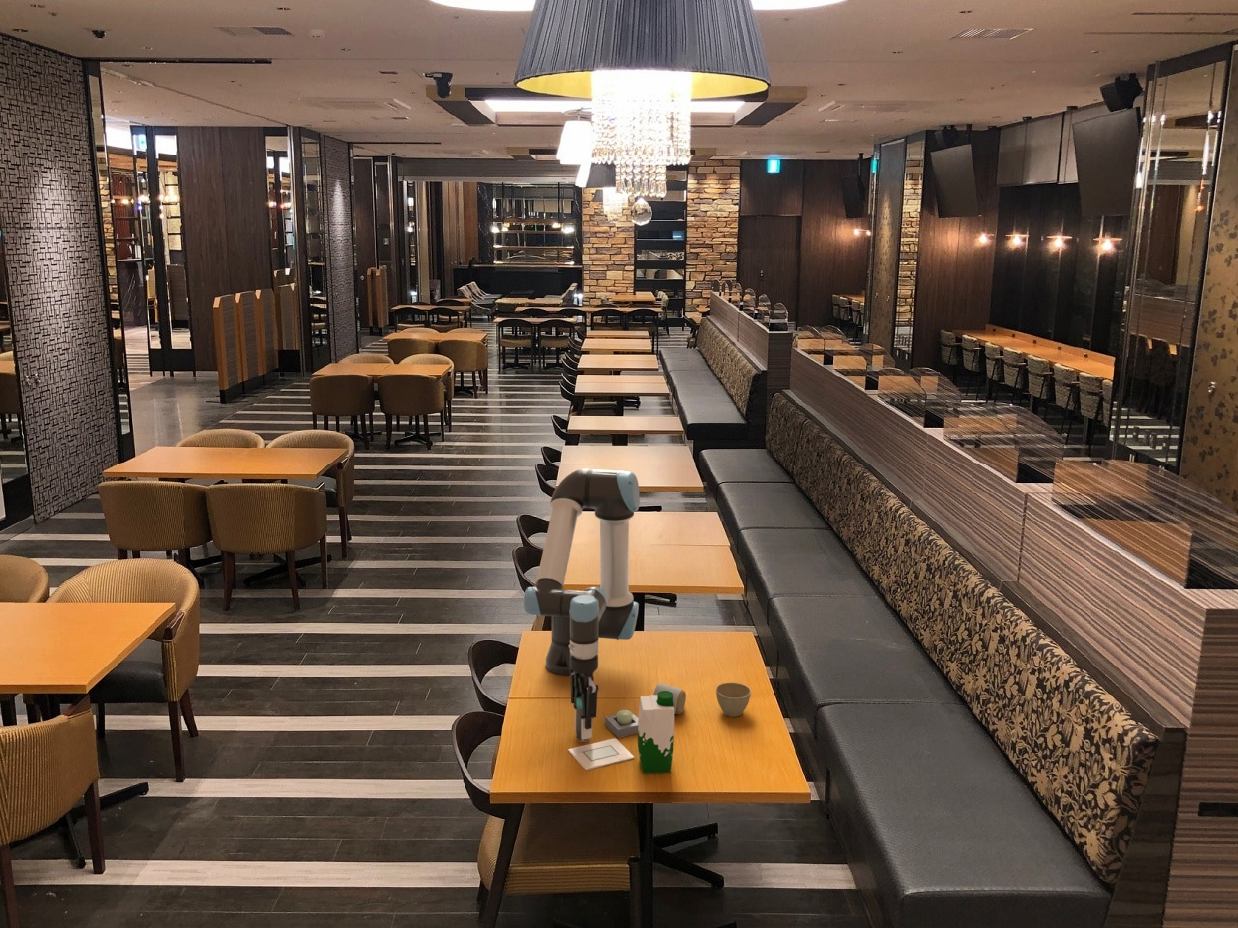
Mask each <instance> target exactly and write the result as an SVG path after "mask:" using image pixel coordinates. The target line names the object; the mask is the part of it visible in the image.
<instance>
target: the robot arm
mask: <svg viewBox="0 0 1238 928" xmlns="http://www.w3.org/2000/svg"><path fill="white" fill-rule="evenodd" d="M639 485H640V484H639V481H638V478H637V476H636V474H635V473H634V472H632V471H628V470H627V471H626V470H622V469H618V470H617V469H603V468H602V469H600V468H599V469H597V468H590V467H589V468H588V467H587V468H586V467H585V468H580V469H576V470H574V471H572V472H571V473H569V474H568V475H566V476H565V477H564V478H563V479H562V480H561V482H559V483H558V485H557V486H556V488H555V490H554V491H553V494H552V495H551V499H550V503H549V509H550V511H551V515H550V518H549V523H548V528H547V532H546V537H545V542H544V547H543V550H542V554H541V558H540V559H541V560H540V564H539V569H538V571H537V578H536V581H535V585H534V586H528V587H526V589H525V591H524V596H523V609H524V611H525V613H526V614H527V615H528V614H529V615H534V616H539V617H543V616H544V617H551V642H550V646H549V648H548V651H547V655H546V658H545V668H546V669H547V670H548V671H549V672H551V673H554V674H556V675H560V676H561V675H562V676H569V677H570V679H569V680H570V683H569V684H570V685H569V686H570V703H571V704H573V708H574V732H575V733H576V730H577V697H579V696H582V706H583V716H581V739H582V740H584V739H588V740H589V739H592V738H593V732H592V731H593V719H594V718H597V711H598V710H597V707H598V705H597V704H598V702H597V701H598V692H599V687H600V686H599V684H595V683H594V672H595V671H596V670H598V667H599V638H600V639H607V640H608V639H610V640H617V641H619V640H625V641H627V640H631V639H632V638H633V636H634V633H635V630H636V625H637V620H638V615H639V610H640V609H639V607H640V606H639V605H640V604H639V603H638V602H637V601H634V595H633V594H632V592H630V591H629V586H630V585H629V580H630V579H629V576H630V574H629V573H630V572H629V571H630V570H629V569H630V566H629V565H630V564H629V563H630V562H629V557H630V556H629V555H630V554H629V552H630V550H629V549H630V548H629V547H630V546H629V545H630V540H629V539H630V533H629V532H630V522H629V521H630V520H631V519H632V518H633V517H634V516H635V513H636V512H637V511H639V508H640V505H641V504H640V494H641V493H640V486H639ZM584 508H585V509H594V516H595V518H597V519H598V520H599V553H600V554H599V555H600V557H599V558H600V559H599V564H600V565H599V569H600V571H599V573H600V574H599V575H600V578H599V582H600V583H599V584H600V587H599V586H590V587H589V586H588V587H587V588H585V589H584V590H577V589H576V590H573V589H566V588H565V589H564V583H565V580H566V574H567V570H568V564H569V559H570V555H571V551H572V545H573V540H574V536H575V531H576V526H577V521H578V518H579V517H580V516H582V513H583V509H584Z"/></svg>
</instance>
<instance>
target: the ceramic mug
mask: <svg viewBox="0 0 1238 928" xmlns="http://www.w3.org/2000/svg"><path fill="white" fill-rule="evenodd" d="M653 690H654V691H653V694H652V695H655V696H657V694H658V693H659V692H661V691H668V692H671V693H672V694H673V702H674V715H680V714H681V713H682V712H683V710H684V708H685V705H686V692H685V690H683V689H681V688H678V687H675V686H671V685H668V684H664V683H661V682H659V683H657V685H655V688H654V689H653Z"/></svg>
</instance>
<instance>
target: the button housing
mask: <svg viewBox="0 0 1238 928" xmlns="http://www.w3.org/2000/svg"><path fill="white" fill-rule="evenodd" d="M604 725H605V727H607V729H608V730H609V731H610V732H612V733H613V734H614V736H615V737H617V738H618V739H620V738H623V737H628V736H631V735H636V734H638V716H637V715H635V714H634V713H633V712H632V723H631V724H627V725H623V726H620V725H619V724H618V723H617V713H616V714H612V715H608V716H605V717H604Z"/></svg>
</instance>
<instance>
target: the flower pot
mask: <svg viewBox="0 0 1238 928" xmlns="http://www.w3.org/2000/svg"><path fill="white" fill-rule="evenodd" d="M715 694H716V700H717V702H718V705H719V708H720V709H721V711H722V713H723V714H724V715H725V716H726V717H731V718H736V717H740V716H741V715H742V714H743V713H744V711H745V710H746V708H747V707H748V705H749V702H750V700H751V695H752V689H751V688H750V687H749V686H748V685H746V684H744V683H743V684H742V683H739V682H723V683H721V684H718V685H717V686H716V687H715Z"/></svg>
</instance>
